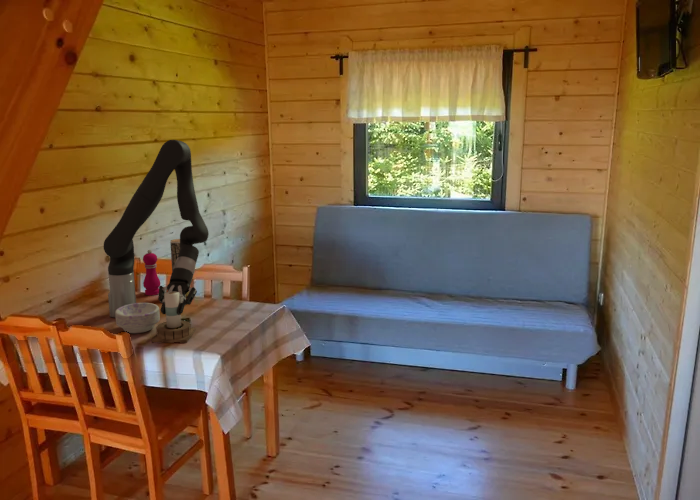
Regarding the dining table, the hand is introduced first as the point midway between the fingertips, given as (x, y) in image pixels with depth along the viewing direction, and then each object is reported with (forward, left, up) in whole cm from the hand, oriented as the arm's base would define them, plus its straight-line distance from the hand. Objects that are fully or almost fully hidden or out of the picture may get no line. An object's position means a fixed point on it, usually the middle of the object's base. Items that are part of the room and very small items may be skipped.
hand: (170, 313), depth 203 cm
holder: (0, +2, -9) cm, 9 cm away
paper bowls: (-15, +9, -9) cm, 20 cm away
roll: (0, +2, -5) cm, 5 cm away
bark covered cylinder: (-10, +50, -9) cm, 52 cm away
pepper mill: (-24, +54, -9) cm, 60 cm away
